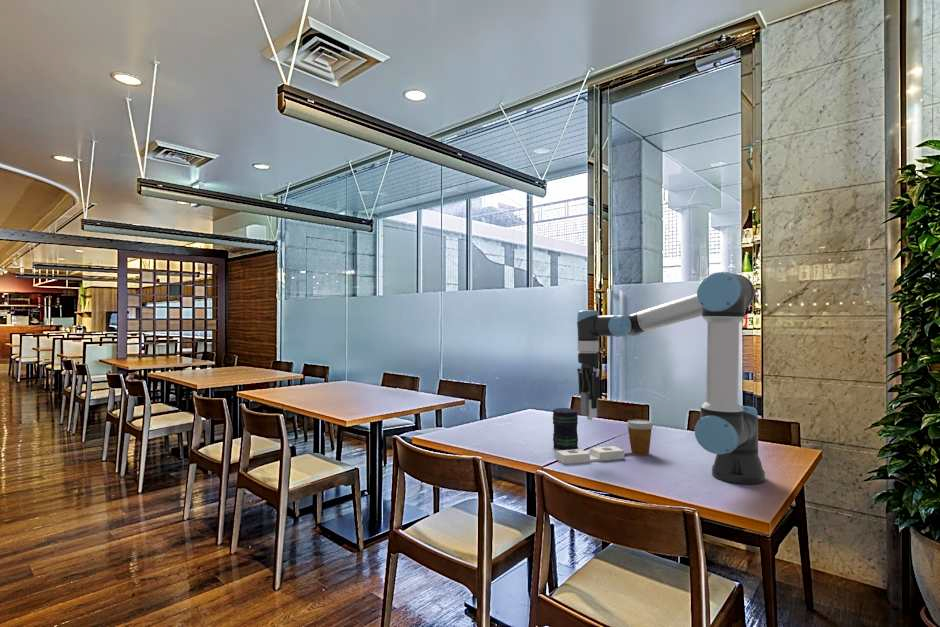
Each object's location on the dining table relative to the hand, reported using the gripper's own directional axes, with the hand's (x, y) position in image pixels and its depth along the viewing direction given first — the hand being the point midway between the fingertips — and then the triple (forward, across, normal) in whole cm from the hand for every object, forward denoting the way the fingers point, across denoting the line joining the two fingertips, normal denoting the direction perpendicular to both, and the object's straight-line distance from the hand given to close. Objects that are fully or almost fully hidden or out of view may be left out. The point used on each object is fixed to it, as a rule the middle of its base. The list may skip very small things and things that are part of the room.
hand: (589, 416), depth 189 cm
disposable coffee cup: (+16, +1, -22) cm, 27 cm away
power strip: (+16, 0, -3) cm, 16 cm away
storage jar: (+16, +18, +1) cm, 24 cm away
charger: (+1, 0, 0) cm, 1 cm away
